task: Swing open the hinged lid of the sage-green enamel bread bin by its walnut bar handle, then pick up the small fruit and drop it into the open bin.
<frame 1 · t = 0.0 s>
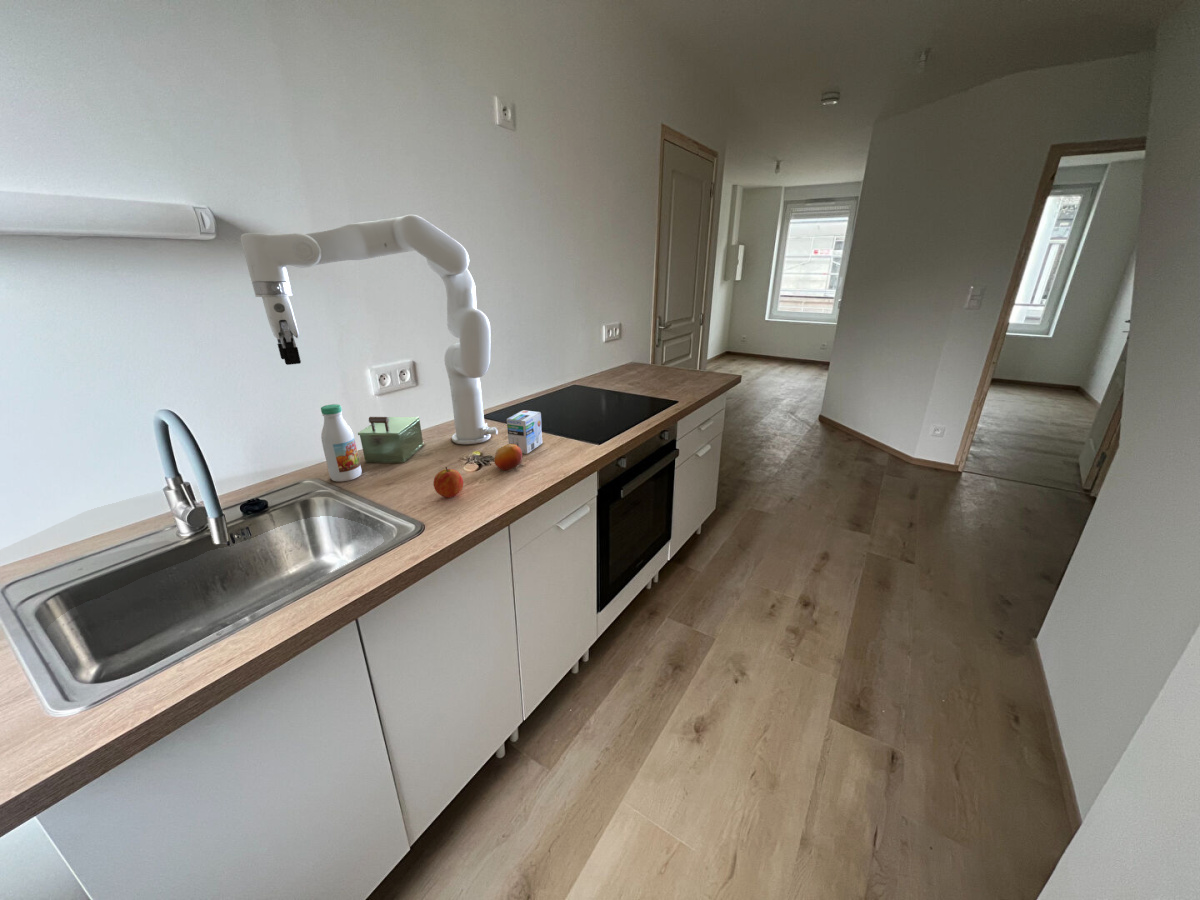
hand: (291, 361, 115), 31 cm above the worktop, tool pointing down, fingers open, 9 cm apart
bread bin: (395, 453, 140), on the worktop
fruit: (509, 468, 129), on the worktop
lid: (388, 419, 135), point 11 cm above the worktop, hinge at 0.0°
light bulb box: (526, 448, 144), on the worktop
milk bottle: (346, 477, 124), on the worktop
fruit 2: (450, 496, 113), on the worktop
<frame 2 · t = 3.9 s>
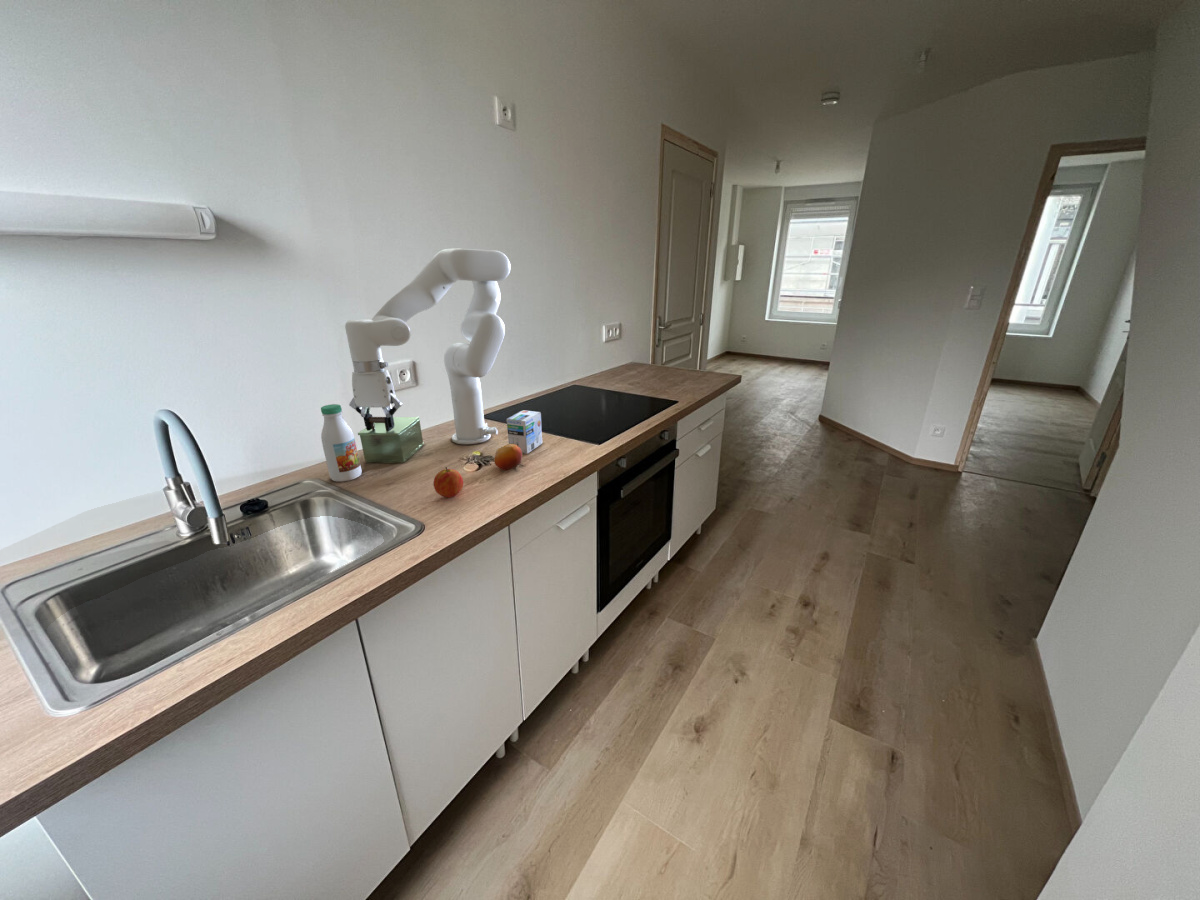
hand: (380, 428, 130), 10 cm above the worktop, tool pointing down, fingers closed on lid, 5 cm apart
lid: (388, 419, 135), point 11 cm above the worktop, hinge at 0.0°, touching gripper
everything else where it was.
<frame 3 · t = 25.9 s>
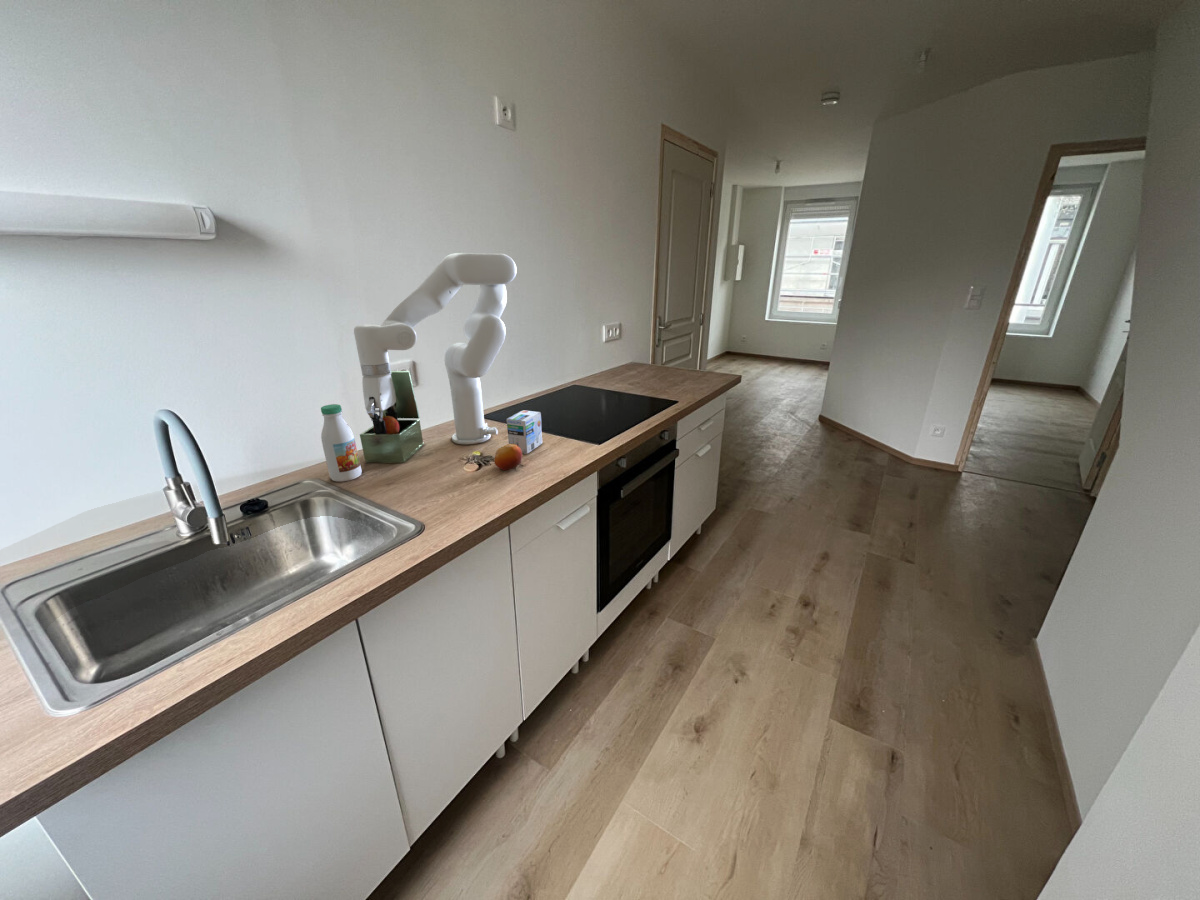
hand: (387, 428, 134), 9 cm above the worktop, tool pointing down, fingers closed on fruit 2, 7 cm apart
lid: (398, 392, 141), point 17 cm above the worktop, hinge at 82.2°
fruit 2: (388, 439, 135), point 6 cm above the worktop, touching gripper
everything else where it was.
when the fingers open (9 cm above the worktop, at t = 26.3 s): fruit 2 drops 5 cm, resting on bread bin.
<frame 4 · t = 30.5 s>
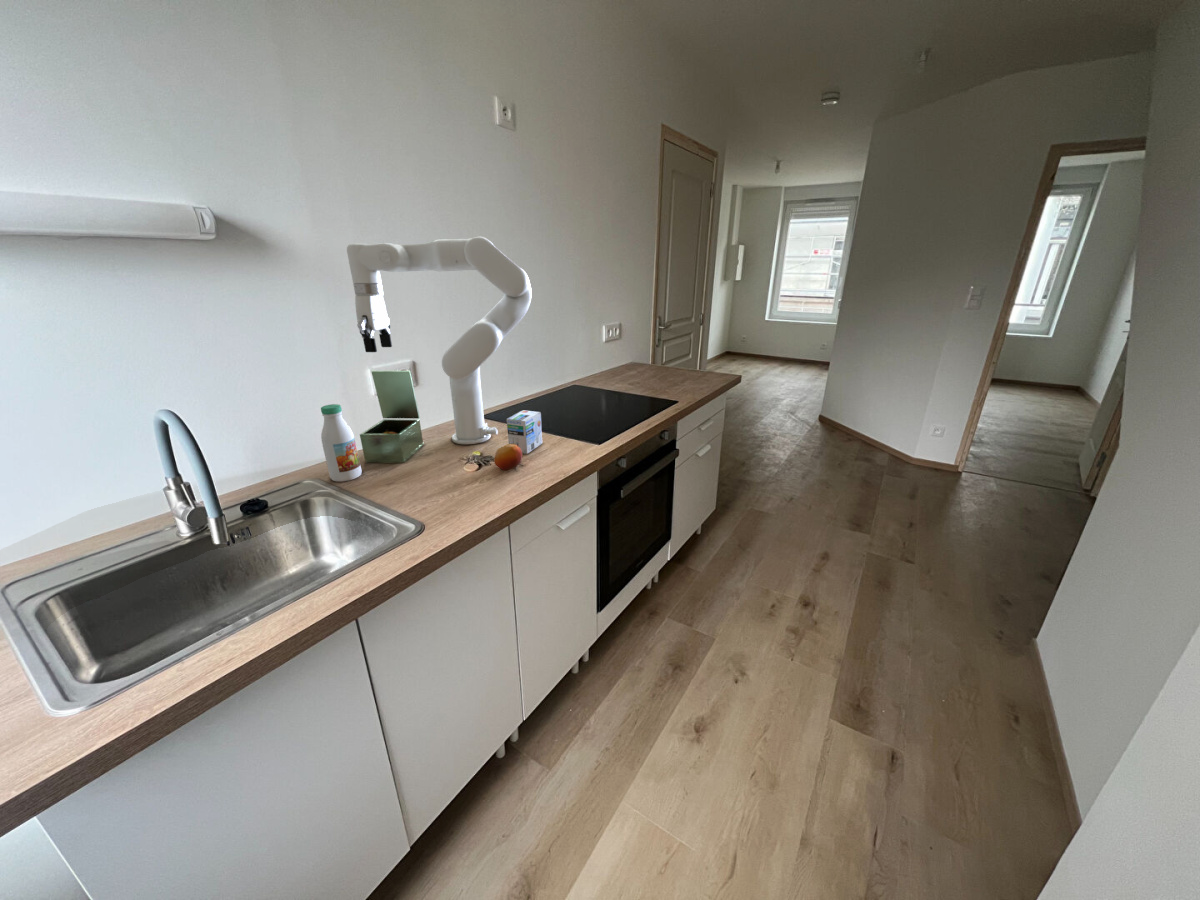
hand: (379, 349, 138), 30 cm above the worktop, tool pointing down, fingers open, 9 cm apart
lid: (399, 392, 141), point 17 cm above the worktop, hinge at 84.2°
fruit 2: (391, 454, 137), point 1 cm above the worktop, touching bread bin
everything else where it was.
at the end: lid at +84° (first picture: +0°); fruit 2 inside the target area in the bread bin (2.5 cm from its centre), point 0.6 cm above the bread bin's base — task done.
